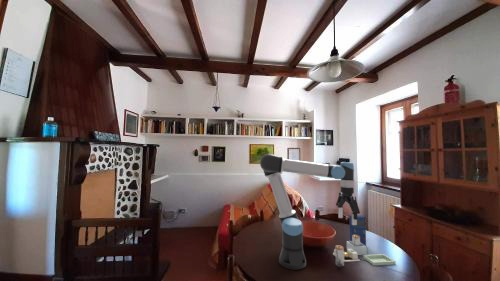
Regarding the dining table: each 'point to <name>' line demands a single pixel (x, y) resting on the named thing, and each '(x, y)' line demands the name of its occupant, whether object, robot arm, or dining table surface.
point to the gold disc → (346, 254)
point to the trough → (379, 259)
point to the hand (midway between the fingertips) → (347, 221)
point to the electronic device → (358, 228)
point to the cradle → (351, 255)
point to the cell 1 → (339, 255)
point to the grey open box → (357, 248)
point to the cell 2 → (355, 240)
